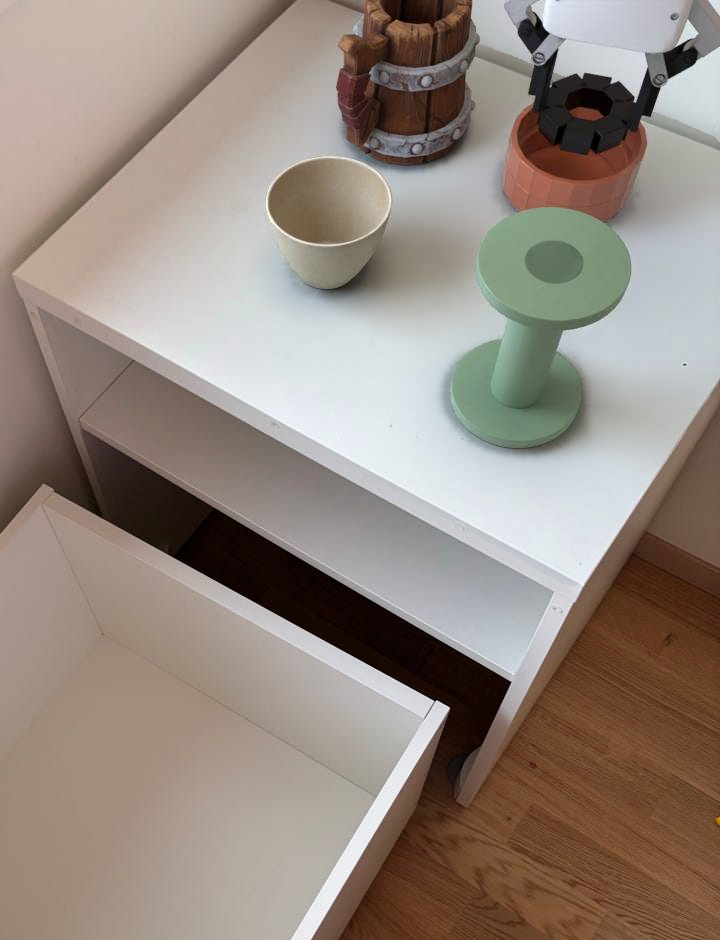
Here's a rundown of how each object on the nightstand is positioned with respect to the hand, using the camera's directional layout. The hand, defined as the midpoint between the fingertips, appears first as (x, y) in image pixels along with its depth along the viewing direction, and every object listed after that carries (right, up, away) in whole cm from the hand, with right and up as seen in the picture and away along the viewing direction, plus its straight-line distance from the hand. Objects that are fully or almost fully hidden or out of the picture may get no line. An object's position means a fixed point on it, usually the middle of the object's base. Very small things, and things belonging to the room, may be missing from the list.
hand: (587, 109), depth 81 cm
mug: (-14, +3, +11) cm, 18 cm away
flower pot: (-21, -11, +5) cm, 24 cm away
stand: (-7, -24, -2) cm, 25 cm away
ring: (0, 0, +1) cm, 1 cm away
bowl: (0, -3, +7) cm, 8 cm away
